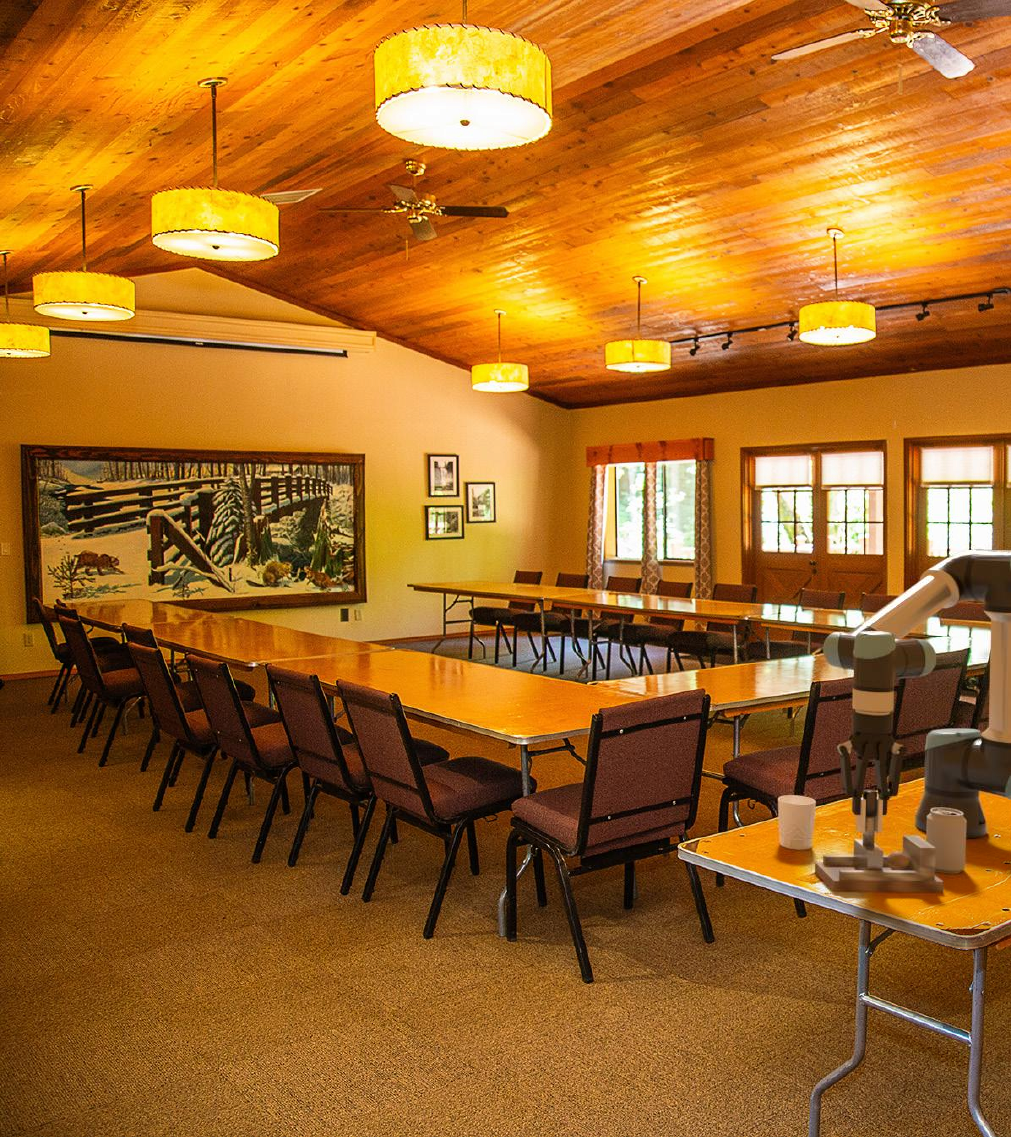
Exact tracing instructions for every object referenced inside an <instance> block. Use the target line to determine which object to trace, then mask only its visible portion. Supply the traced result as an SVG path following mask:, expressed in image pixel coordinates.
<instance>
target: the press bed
mask: <svg viewBox="0 0 1011 1137" xmlns="http://www.w3.org/2000/svg"><path fill="white" fill-rule="evenodd" d="M902 852H903V853H904V854H905V855H906V856H907V857H908V859H909V866H908V868H907V869H906V870H905V871H901V870H892V869H890V867H889V866H888V863H887V859H888V856H889V855H890V854H885V855H884V854H883V870H859V869H858V868H857V867H856V866H855V865H854V864H853V862H854V854H823V855H822V856H823V857H822V861H816V862H814V873H815V874H817V876H818V877H819V878H820V879H821V880H822V881H823V882H824V883H825V884H826V885H827V886H828V887H829V888H830V889H831V890H832V891H833V892H853V893H854V892H857V893H858V892H861V893H863V892H864V893H865V892H867V893H868V892H869V893H870V892H874V893H877V892H878V893H879V892H880V893H881V892H883V893H897V892H899V893H909V892H910V893H914V892H915V893H943V892H944V881H943V880H942V879H941V878H939V877H938V876H937V875H936V871H935V854H936V848H935V847H934V846H932V845H931V844H929V843H928V842H926V839H923V838H922V837H921V836H919V835H905V834H904V835H902Z"/></svg>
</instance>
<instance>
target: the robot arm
mask: <svg viewBox="0 0 1011 1137" xmlns="http://www.w3.org/2000/svg"><path fill="white" fill-rule="evenodd" d="M962 602H981V603H983V612H984V613H985V615H986V616H988V617H989V618H990V651H989V652H990V660H989V662H990V663H989V701H988V702H989V705H988V706H989V709H988V712H989V713H988V714H989V715H988V727H987V728H986V729H985V730H984V731H981V730H980V729H976V728H975V729H974V728H941V729H933V730H931V731H929V732H928V734H927V735H926V737H925V738H926V739H925V747H924V752H925V753H924V754H925V756H924V757H925V758H924V788H923V789H924V791H923V794H922V798H921V799H920V802H919V805H918V808H917V810H916V813H915V816H914V818H915V820H914V821H915V822H914V825H915V827H916V828H917V829H919V830H920V831H923V832H926V828H927V815H929V814H930V813H931V811H930V809H932V808H938V807H942V808H951V809H956V810H959V811H961V812H963V817H964V818H965V819H966V821H967V824H966V839H973V838H975V839H976V838H981V837H984V836H985V835H987V825H988V824H987V821H986V818H985V813H984V810H983V807H982V804H981V801H980V792H982V793H988V794H989V795H990V794H991V795H995V796H998V797H1003V798H1006V799H1009V800H1011V549H1009V550H1008V549H982V548H979V549H978V548H977V549H969V550H965V551H960V552H958V553H955V554H953V555H951V556H949V557H947V558H945V559H942V560H941V561H939V562H937V563H935V564H934V565H932V566H931V567H929V568H928V569H927V570H925V571H924V572H923V573H922V574H921V575H920V577H919V580H918V582H917V583H915V584H913V585H912V586H911V587H910V588H909V589H907V590H905V591H904V592H902V593H901V594H900V595H899V596H897V597H895V599H892V601H890V602H889V603H887V604H886V605H884V606H883V607H882V608H881V609H879V610H878V611H876V612H875V613H874V614H872V615H871V616H870V617H869V618H867V619H865V620H864V621H863V622H862V623H860V624H859V625H857V626H856V627H855V628H853V629H852V630H850V631H849V632H846V631H835V632H832V633H830V634H828V636H827V637H826V638H825V640H824V644H823V649H822V651H823V656H824V659H825V661H826V662H827V663H828V664H829V665H830V666H832V667H835V668H839V669H843V670H850V671H853V683H852V709H853V711H852V713H851V734H850V736H849V737H848V741H845V742H844V743H837V744H836V746H835V748H836V750H837V752H838V754H839V760H840V773H841V788H842V792H843V793H844V794H846V795H847V796H849V797H851V799H852V800H851V801H852V802H851V806H852V807H851V811H852V813H853V815H855V816H856V818H855V819H856V821H855V822H856V823H855V829H856V831H858V833H860V834H863V833H865V814H866V800H865V799H864V798H863V790H864V787H865V780H866V775H867V769H868V765H869V764H870V760H873V763H874V769H875V770H874V771H875V779H876V780H875V781H876V789H877V813H876V816H875V833H877V834H883V816H887V814H888V801H890V800H891V798H892V797H897V796H898V794H899V789H900V788H899V787H900V781H901V772H902V766H903V759H904V757H905V755H906V754H907V751H908V748H907V747H906V746H904V745H903V744H902V743H901V744H900V743H897V742H896V741H895V738H894V737H893V729H894V728H893V727H894V715H893V714H892V713H891V712H893V711H894V702H895V701H894V699H895V698H894V697H895V696H894V695H895V694H894V692H895V680H896V679H909V678H915V679H916V678H919V677H923V676H927V675H928V674H930V673H932V671H933V670H934V669H935V667H936V664H937V653H936V651H935V648H934V647H933V646H932V644H931V643H929V642H928V641H927V640H925V639H919V638H910V639H904V638H905V637H906V636H908V634H910V633H911V632H913V631H914V630H915V629H916V628H918V627H919V626H920V625H922V624H923V623H924V622H926V621H927V620H929V619H930V618H931V617H933V616H934V615H935V614H936V613H938V612H939V611H941V610H942V609H948V608H952V607H954V606H955V605H957V604H958V603H962ZM852 749H853V750H854V752H855V753H856V758H855V760H856V764H855V771H854V776H853V775H852V765H851V764H852V762H851V760H852V759H851V755H850V754H851V752H852ZM890 751H891V753H892V754H891V758H890V766H889V772H888V773H889V774H888V776H887V768H886V765H887V759H886V756H887V754H888V753H889V752H890Z"/></svg>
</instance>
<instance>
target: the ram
mask: <svg viewBox="0 0 1011 1137" xmlns="http://www.w3.org/2000/svg"><path fill="white" fill-rule="evenodd" d="M877 797H878V791H876V790H873V789H863V794H862V798H864V799H865V800H866V814H865V833H862V839H861V838H855V839H853V855H854V862H853V864H854V865H855V866H856V867H857V868H858V869H859V870H883V855H884V850H883V849H882V848H880V846H878V845H877V844H876V842H875V840H876V839H875V838H876V836H875V835H876V834H875V833H876V831H875V816H876V813H877Z"/></svg>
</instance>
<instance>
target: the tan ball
mask: <svg viewBox="0 0 1011 1137" xmlns="http://www.w3.org/2000/svg"><path fill="white" fill-rule="evenodd" d="M888 855H889V856H888V859H887V863H888V866H889V867H890V869H892V870H901V871H905V870H906V869H907V868H908V866H909V859H908V857H907V856H906V855H905V854H904V853H903V851H901V850H900V851H899V850H895V851H892V852H890V853H889V854H888Z"/></svg>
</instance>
